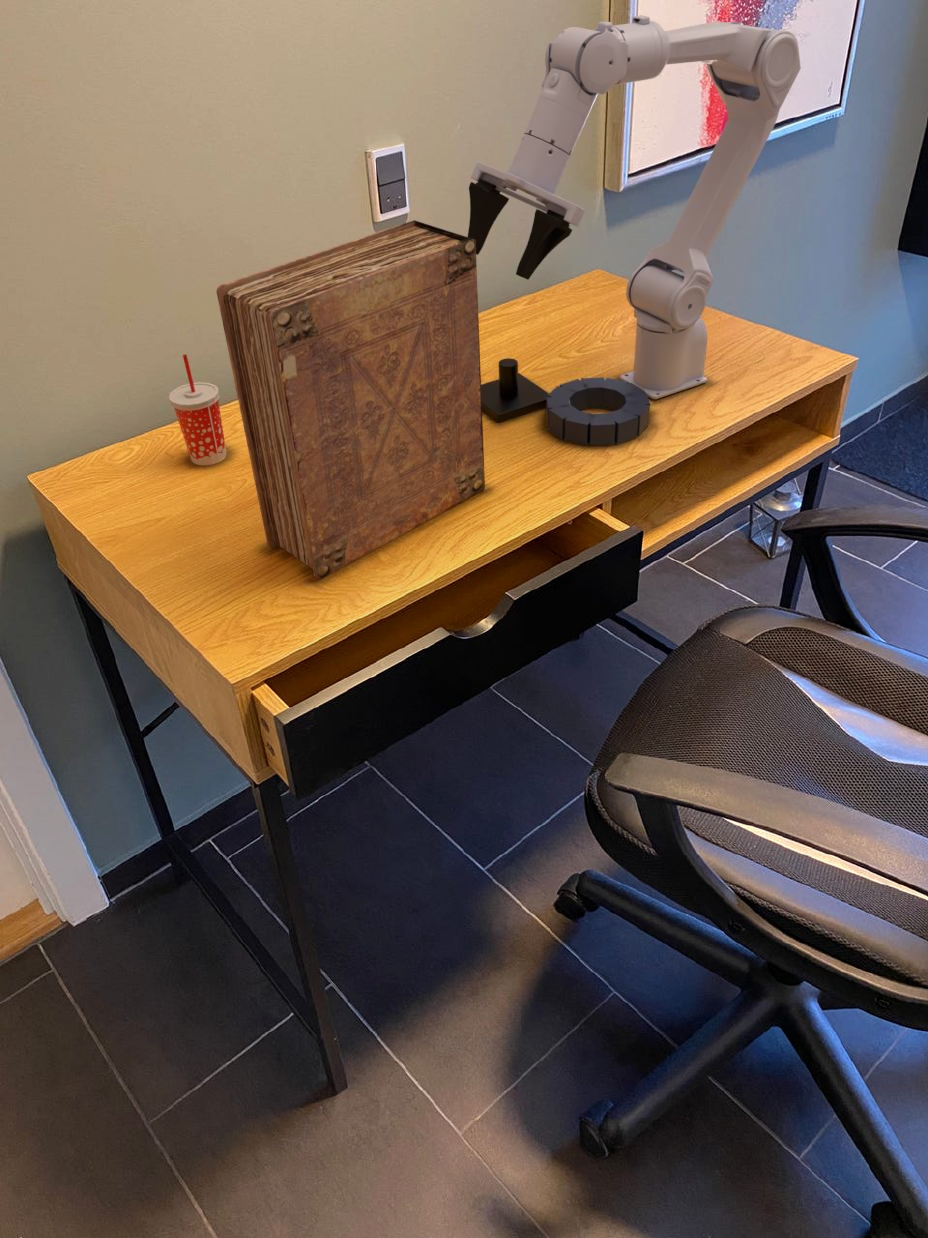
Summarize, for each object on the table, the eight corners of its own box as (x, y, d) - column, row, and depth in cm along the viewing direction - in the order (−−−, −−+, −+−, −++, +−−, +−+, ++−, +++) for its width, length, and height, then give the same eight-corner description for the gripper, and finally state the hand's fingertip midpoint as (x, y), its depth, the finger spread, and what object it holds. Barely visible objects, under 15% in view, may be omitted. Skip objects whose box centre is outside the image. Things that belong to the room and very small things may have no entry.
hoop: (607, 388, 139) (608, 368, 137) (668, 426, 130) (670, 405, 128) (527, 415, 134) (527, 394, 132) (584, 456, 125) (585, 434, 123)
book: (315, 582, 107) (267, 312, 88) (267, 547, 113) (212, 287, 94) (486, 489, 120) (476, 236, 101) (435, 462, 125) (417, 217, 106)
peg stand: (519, 380, 142) (518, 342, 138) (554, 404, 136) (554, 365, 132) (464, 397, 139) (462, 359, 135) (498, 422, 133) (497, 383, 129)
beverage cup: (215, 439, 133) (192, 340, 124) (242, 455, 129) (220, 353, 120) (176, 457, 130) (149, 356, 121) (202, 473, 126) (176, 370, 117)
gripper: (479, 112, 110) (431, 233, 115) (584, 156, 104) (529, 281, 109) (510, 132, 116) (463, 246, 121) (611, 175, 110) (557, 293, 115)
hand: (496, 264), depth 115 cm, fingers open, 7 cm apart
